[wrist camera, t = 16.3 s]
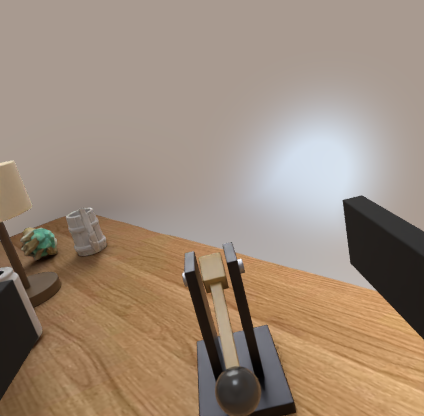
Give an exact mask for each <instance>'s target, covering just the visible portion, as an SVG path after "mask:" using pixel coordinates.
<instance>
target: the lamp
mask: <svg viewBox="0 0 424 416" xmlns="http://www.w3.org/2000/svg"><path fill="white" fill-rule="evenodd" d="M31 207H32V204H31V201H30V199H29V196H28V194H27V191H26V189H25V186H24V184H23V181H22V179H21V176H20V174H19V171H18V169H17V167H16V164H15V162H14V161H7V162H3V163H0V241H1V243H2V245H3V247H4V249H5V252H6V254H7V256H8V258H9V261H10V263H11V265H12V267H13V270H14V272H15V273H17V274H18V276H19V278H20V280H21V282H22V285H23V287H24V289H25V291H26V293H27V296H28V298H29V300H30V302H31V305H32V307H35V306H37V305H39V304H41V303H43V302H44V301H46V300H48V299H49V298H50V297H52V296H53V295H54V294H55V293H56V292H57V291H58V290H59V289H60V287H61V282H60V279H59V277H58V275H57V273H55V272H43V273H38V274H35V275H31V276H28V277H27V276H26V273H25V271H24V269H23V267H22V264H21V262H20V260H19V257H18V255H17V253H16V251H15V248H14V246H13V244H12V242H11V239H10V237H9V235H8V232H7V230H6V228H5V226H4V223H3V221H6V220H8V219H11V218H13V217H15V216H18V215H20V214H22V213H24V212H26V211H28V210H29V209H30V208H31Z"/></svg>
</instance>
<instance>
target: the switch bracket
mask: <svg viewBox="0 0 424 416" xmlns="http://www.w3.org/2000/svg"><path fill="white" fill-rule="evenodd" d="M223 249H224V253H225V257H226V262H227V266H228V270H229V274H230V278H231V282H232V286H233V290H234V294H235V298H236V302H237V307H238V311H239V315H240V319H241V323H242V327H243V331H239V332H235V333H233V337H234V341H235V346H236V351H237V355H238V360H239V364H240V366H241V367H245V368H247V369H249V370H250V371H252V372H253V373H254V374H255V376H256V377H257V379H258V381H259V383H260V387H261V399H260V402H259V404H258V406H257V408H256V409H255V410H254V411H253V412H252V413H251V414H250V415H248V416H283V415H287V414H291V413H295V412H296V409H295V404H294V400H293V397H292V394H291V392H290V389H289V386H288V383H287V380H286V377H285V374H284V371H283V368H282V365H281V363H280V360H279V357H278V354H277V351H276V348H275V345H274V342H273V339H272V337H271V334H270V331H269V328H268V325H264V326H260V327H255V328H253V324H252V320H251V316H250V312H249V307H248V303H247V299H246V295H245V291H244V286H243V282H242V278H241V273H245V270H244V266H243V262H242V259H238V260H237V257H236V254H235V251H234V247H233V244H232V242H230V243H226V244H223ZM182 276H183V281H184V285H185V287H188V288H189V291H190V295H191V298H192V302H193V305H194V309H195V312H196V316H197V319H198V322H199V326H200V329H201V333H202V336H203V340H201V341H197V361H198V389H199V416H230V415H228V414H226V413H225V412H224V411H223V410H222V409H221V408H220V406H219V405H218V403H217V400H216V396H215V386H216V382H217V379H218V377H219V376H220V374H221V373H222V372H223V371H225V370H226V366H225V361H224V355H223V350H222V345H221V340H220V336H218V337H217V333H216V330H215V326H214V322H213V319H212V315H211V311H210V308H209V304H208V300H207V297H206V293H205V289H204V286H203V282H202V278H201V275H200V271H199V268H198V264H197V260H196V257H195V253H194V251H193V252H189V253H185V266H184V273H182Z"/></svg>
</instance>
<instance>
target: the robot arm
mask: <svg viewBox="0 0 424 416" xmlns="http://www.w3.org/2000/svg"><path fill="white" fill-rule="evenodd" d="M343 206H344V215H345V223H346V231H347V239H348V247H349V255H350V263H351V264H352V265H353V266H354V267H355V268H356V269H357V270H358V271H359V272H360V274H361V275H362V276H363V277H364V278H365V279H366V280H367V281H368V282H369V283H370V284H371V285H372V286H373V287H374V288H375V289H376V290H377V291H378V292H379V293H380V294H381V295H382V296H383V298H384V299H385V300H386V301H387V302H388V303H389V304H390V305H391V306H392V307H393V308H394V309H395V310H396V311H397V312H398V313H399V314H400V315H401V316H402V317H403V318H404V319H405V320H406V321H407V323H408V324H409V325H410V326H411V327H412V328H413V329H414V330H415V331H416V332H417V333H418V334H419V335H420V336H421V337H422V338H423V339H424V232H423V231H422V230H420V229H419V228H417V227H415V226H413V225H412V224H410V223H408V222H407V221H405V220H403V219H402V218H400V217H398V216H396V215H394V214H393V213H391V212H390V211H388V210H386V209H384V208H383V207H381V206H379V205H377V204H376V203H374V202H372V201H371V200H369V199H367V198H366V197H364V196H358V197H353V198H350V199H345V200H343ZM38 338H39V336H38V334H37V332H36V330H35V328H34V325H33V323H32V321H31V319H30V317H29V314H28V312H27V310H26V308H25V306H24V303H23V301H22V299H21V297H20V295H19V292H18V290H17V288H16V286H15V284H14V281H13V279H11V280H7V281H3V282H0V400H1V398H2V397H3V395H4V394H5V392H6V390H7V389H8V387H9V385H10V384H11V382H12V380H13V379H14V377H15V376H16V374H17V372H18V371H19V369H20V367H21V366H22V364H23V362H24V361H25V359H26V358H27V356H28V354H29V353H30V351H31V349H32V348H33V346H34V344H35V343H36V341H37V339H38Z"/></svg>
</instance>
